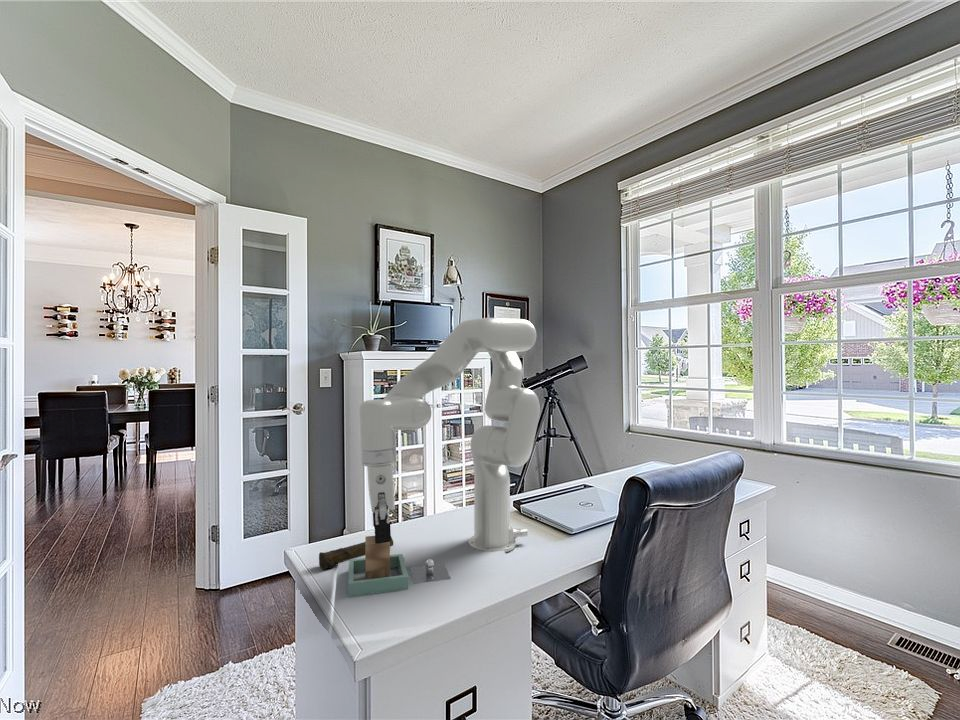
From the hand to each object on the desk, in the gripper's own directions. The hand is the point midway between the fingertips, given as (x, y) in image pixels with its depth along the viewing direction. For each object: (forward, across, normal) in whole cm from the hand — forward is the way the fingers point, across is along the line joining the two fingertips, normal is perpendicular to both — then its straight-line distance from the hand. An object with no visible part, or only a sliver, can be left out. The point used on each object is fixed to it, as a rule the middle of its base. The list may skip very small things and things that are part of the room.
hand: (381, 533), depth 98 cm
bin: (+11, -1, +1) cm, 11 cm away
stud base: (+11, -1, -10) cm, 15 cm away
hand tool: (+11, +15, +5) cm, 19 cm away
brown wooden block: (+10, -1, +1) cm, 10 cm away
